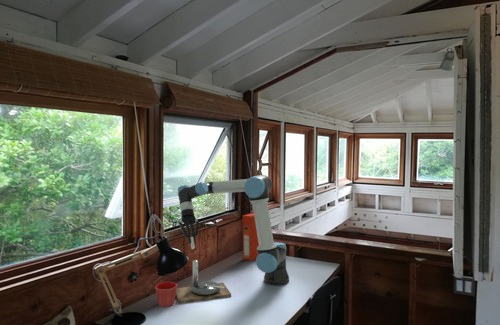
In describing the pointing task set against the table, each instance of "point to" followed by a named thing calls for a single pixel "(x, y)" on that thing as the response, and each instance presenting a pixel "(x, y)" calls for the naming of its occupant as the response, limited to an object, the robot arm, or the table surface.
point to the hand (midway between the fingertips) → (193, 248)
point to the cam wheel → (203, 284)
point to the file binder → (249, 237)
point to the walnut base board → (187, 296)
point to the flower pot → (166, 293)
